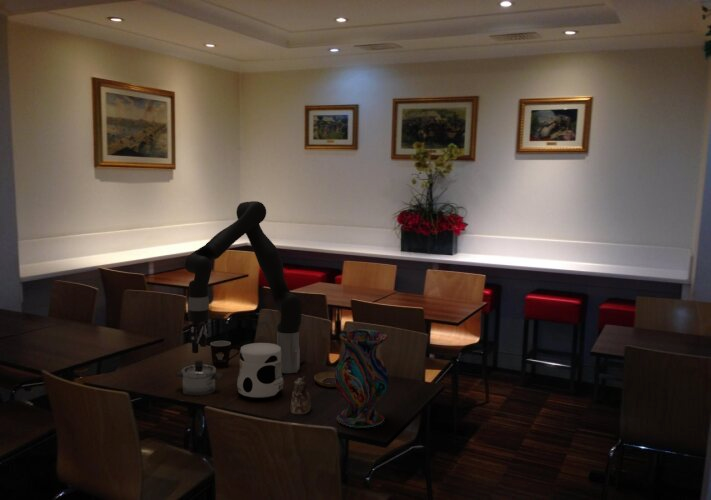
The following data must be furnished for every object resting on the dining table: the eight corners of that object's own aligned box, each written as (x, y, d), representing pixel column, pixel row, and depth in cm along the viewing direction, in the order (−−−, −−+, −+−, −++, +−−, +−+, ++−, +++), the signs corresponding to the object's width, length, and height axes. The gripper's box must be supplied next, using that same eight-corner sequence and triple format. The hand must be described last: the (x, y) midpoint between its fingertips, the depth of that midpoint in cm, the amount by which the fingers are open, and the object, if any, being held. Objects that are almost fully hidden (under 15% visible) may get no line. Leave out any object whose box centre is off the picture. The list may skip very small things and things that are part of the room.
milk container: (233, 388, 239) (233, 343, 237) (277, 384, 246) (277, 340, 243) (241, 404, 223) (241, 356, 221) (288, 400, 229) (289, 352, 227)
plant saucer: (350, 390, 243) (350, 383, 242) (312, 389, 242) (313, 382, 242) (350, 378, 257) (350, 371, 257) (314, 377, 257) (315, 371, 257)
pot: (225, 386, 242) (225, 365, 241) (214, 397, 230) (214, 375, 229) (184, 383, 244) (184, 363, 243) (171, 394, 232) (171, 373, 231)
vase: (326, 426, 207) (328, 338, 203) (343, 407, 224) (345, 326, 220) (379, 434, 201) (382, 344, 198) (392, 414, 219) (396, 331, 215)
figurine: (286, 411, 219) (286, 378, 217) (298, 405, 225) (299, 373, 223) (301, 415, 215) (302, 382, 213) (314, 409, 221) (315, 377, 219)
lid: (214, 369, 240) (214, 358, 239) (205, 376, 231) (205, 365, 231) (192, 368, 241) (192, 357, 240) (182, 375, 232) (182, 363, 232)
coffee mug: (206, 367, 264) (206, 344, 263) (216, 362, 272) (216, 339, 271) (230, 370, 261) (231, 347, 260) (240, 365, 269) (240, 342, 268)
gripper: (201, 312, 225) (202, 355, 227) (214, 304, 239) (215, 344, 241) (181, 311, 226) (182, 354, 228) (195, 303, 240) (196, 344, 242)
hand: (199, 349), depth 235 cm, fingers open, 8 cm apart
